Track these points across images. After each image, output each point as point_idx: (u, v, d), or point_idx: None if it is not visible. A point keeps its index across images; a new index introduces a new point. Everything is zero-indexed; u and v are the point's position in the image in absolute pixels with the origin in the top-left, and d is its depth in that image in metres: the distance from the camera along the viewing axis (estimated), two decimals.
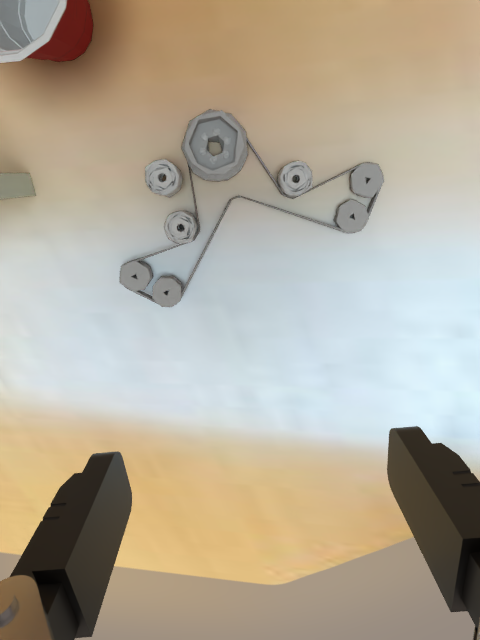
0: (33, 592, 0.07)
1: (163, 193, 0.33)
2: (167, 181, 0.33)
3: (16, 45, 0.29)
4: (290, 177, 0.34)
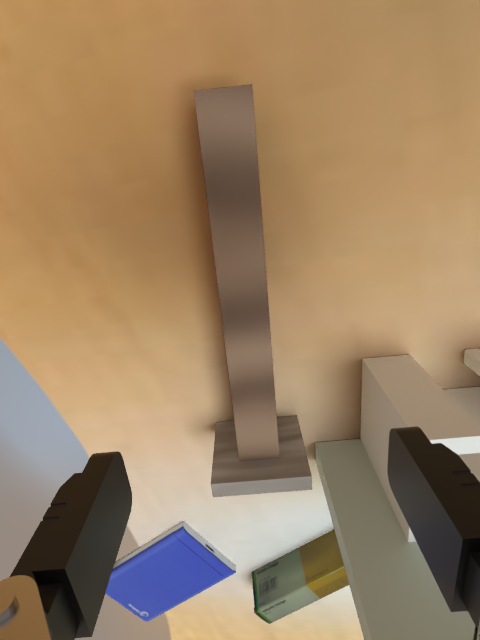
0: (33, 592, 0.07)
1: None
2: None
3: None
4: None
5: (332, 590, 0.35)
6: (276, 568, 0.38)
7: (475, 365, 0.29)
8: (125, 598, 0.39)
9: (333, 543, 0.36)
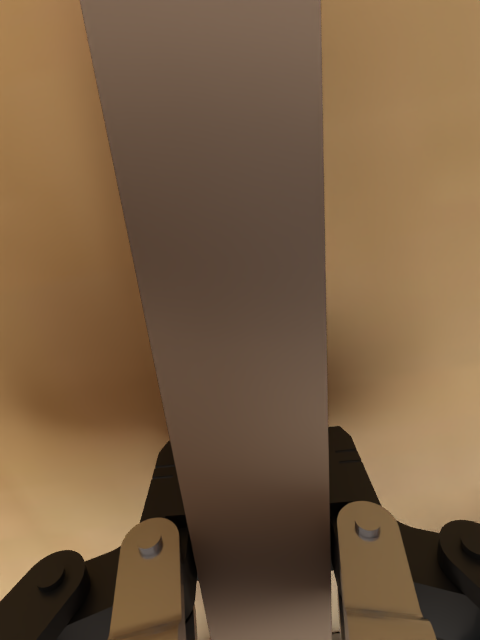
0: (175, 531, 0.08)
1: None
2: None
3: None
4: None
5: None
6: None
7: None
8: None
9: None
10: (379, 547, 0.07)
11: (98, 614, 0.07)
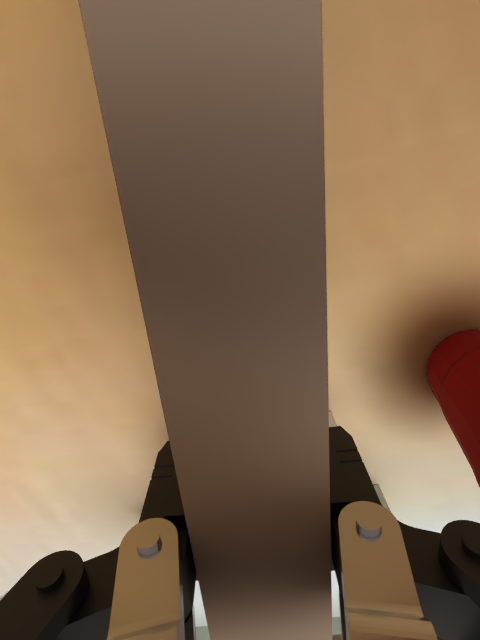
0: (174, 531, 0.08)
1: None
2: None
3: None
4: None
5: None
6: None
7: None
8: None
9: None
10: (380, 547, 0.07)
11: (97, 613, 0.07)
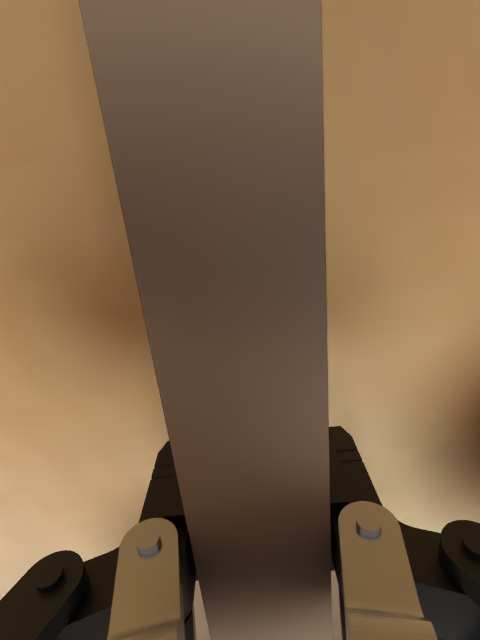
0: (174, 531, 0.08)
1: None
2: None
3: None
4: None
5: None
6: None
7: None
8: None
9: None
10: (380, 547, 0.07)
11: (97, 614, 0.07)
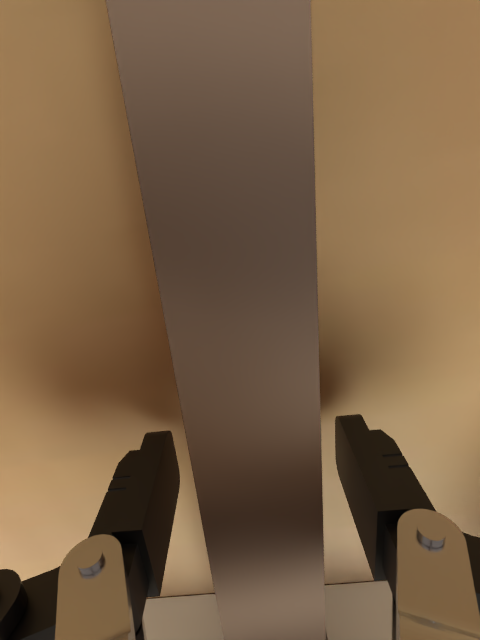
0: (118, 548, 0.08)
1: None
2: None
3: None
4: None
5: None
6: None
7: None
8: None
9: None
10: (441, 559, 0.07)
11: (32, 636, 0.07)
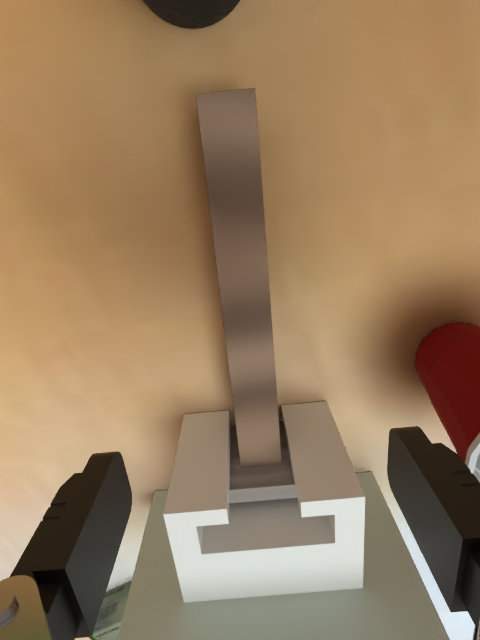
0: (33, 592, 0.07)
1: None
2: None
3: None
4: None
5: None
6: (121, 592, 0.38)
7: (283, 422, 0.30)
8: None
9: None
10: None
11: None
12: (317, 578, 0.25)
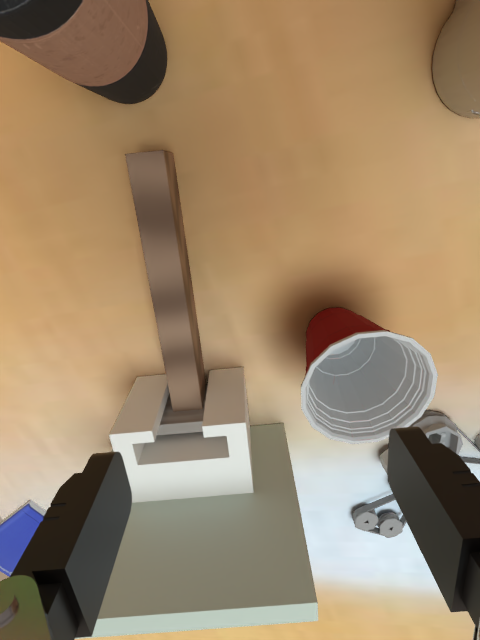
0: (33, 592, 0.07)
1: None
2: None
3: (319, 371, 0.38)
4: None
5: None
6: None
7: None
8: None
9: None
10: None
11: None
12: (220, 485, 0.35)
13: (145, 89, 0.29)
